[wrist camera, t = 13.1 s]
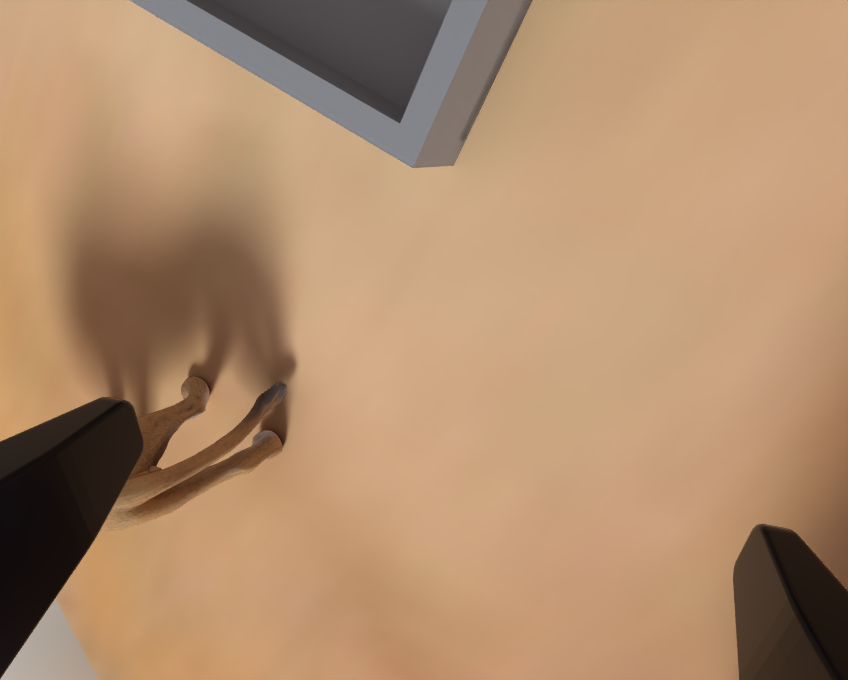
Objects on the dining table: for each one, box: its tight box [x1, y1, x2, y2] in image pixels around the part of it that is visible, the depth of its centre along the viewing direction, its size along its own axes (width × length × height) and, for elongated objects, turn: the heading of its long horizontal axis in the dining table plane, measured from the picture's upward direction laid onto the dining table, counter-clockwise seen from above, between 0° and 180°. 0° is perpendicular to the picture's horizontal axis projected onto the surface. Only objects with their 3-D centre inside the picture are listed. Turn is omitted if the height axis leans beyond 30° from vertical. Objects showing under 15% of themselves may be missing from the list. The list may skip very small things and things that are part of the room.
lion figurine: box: [100, 376, 287, 532], centre depth 22 cm, size 15×5×9 cm, turn 120°
